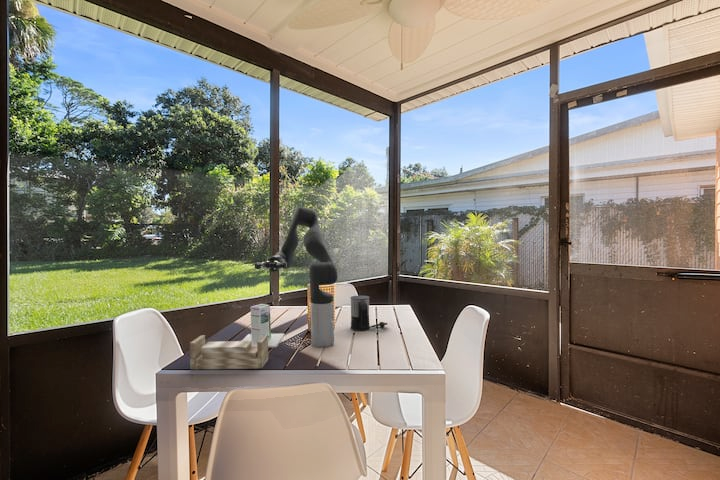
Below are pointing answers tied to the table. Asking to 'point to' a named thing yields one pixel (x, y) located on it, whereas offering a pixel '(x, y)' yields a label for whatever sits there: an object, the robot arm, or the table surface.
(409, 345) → the table surface
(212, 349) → the offcut rack
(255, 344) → the white mat
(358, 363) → the table surface
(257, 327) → the syrup box
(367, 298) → the milk frother
